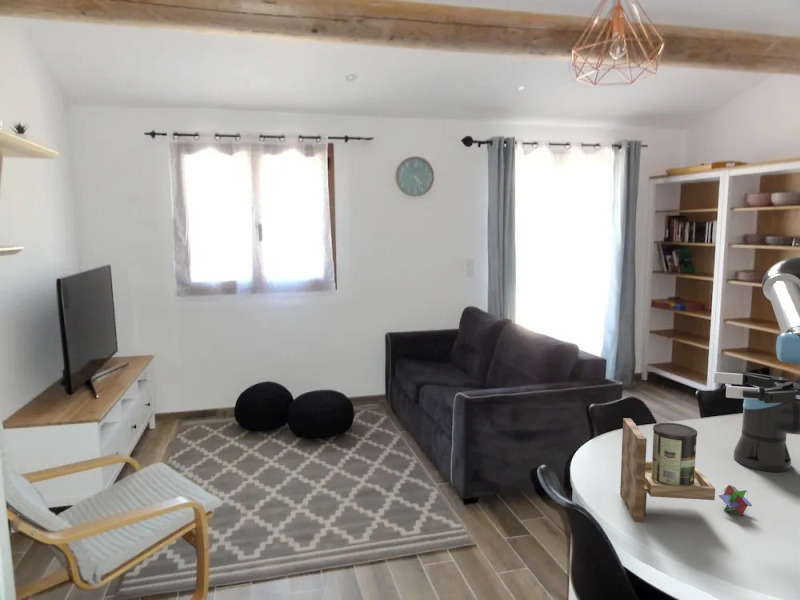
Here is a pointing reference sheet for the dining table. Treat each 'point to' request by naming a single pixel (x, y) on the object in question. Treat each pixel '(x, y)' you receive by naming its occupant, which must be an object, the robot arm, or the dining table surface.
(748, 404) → the robot arm
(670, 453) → the coffee can
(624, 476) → the bracket
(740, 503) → the geometric puzzle
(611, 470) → the dining table surface
